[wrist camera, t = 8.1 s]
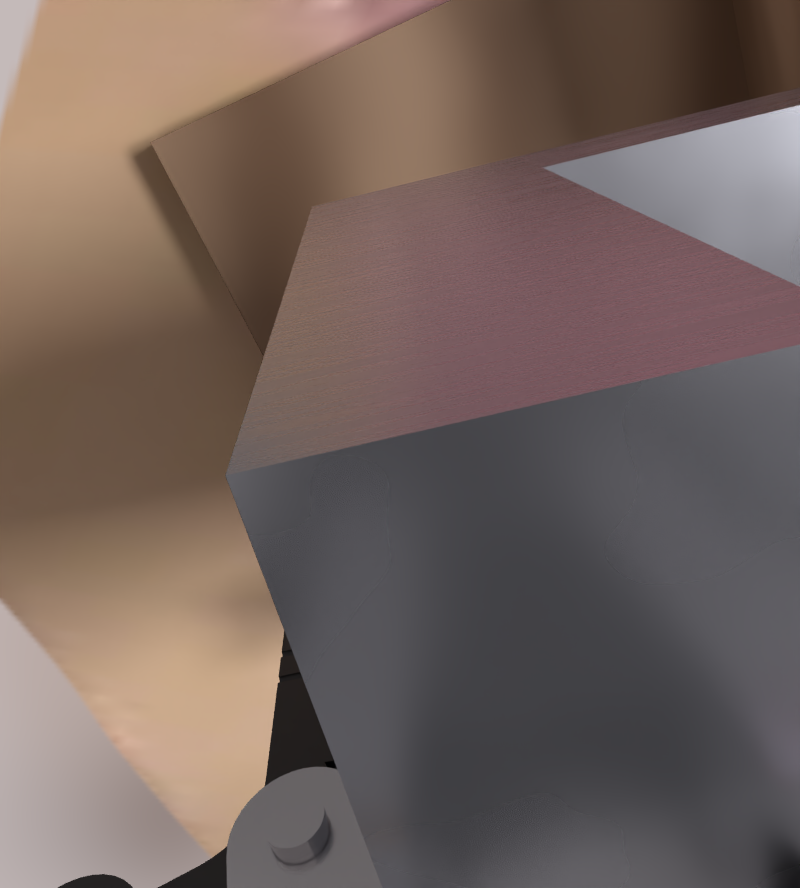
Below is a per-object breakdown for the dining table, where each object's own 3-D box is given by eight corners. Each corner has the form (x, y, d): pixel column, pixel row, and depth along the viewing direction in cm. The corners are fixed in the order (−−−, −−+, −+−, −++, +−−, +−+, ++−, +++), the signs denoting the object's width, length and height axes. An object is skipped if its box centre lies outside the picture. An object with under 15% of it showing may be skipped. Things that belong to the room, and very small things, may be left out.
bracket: (312, 206, 11) (225, 474, 3) (874, 68, 10) (2118, 43, 3) (446, 705, 15) (531, 1278, 8) (841, 622, 15) (1311, 1145, 7)
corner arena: (741, -136, 18) (947, -253, 12) (830, 416, 25) (990, 530, 18) (159, 139, 20) (68, 166, 14) (390, 579, 27) (399, 732, 20)
